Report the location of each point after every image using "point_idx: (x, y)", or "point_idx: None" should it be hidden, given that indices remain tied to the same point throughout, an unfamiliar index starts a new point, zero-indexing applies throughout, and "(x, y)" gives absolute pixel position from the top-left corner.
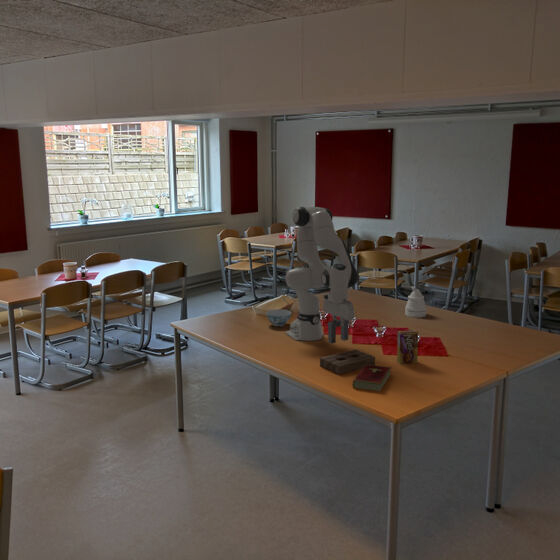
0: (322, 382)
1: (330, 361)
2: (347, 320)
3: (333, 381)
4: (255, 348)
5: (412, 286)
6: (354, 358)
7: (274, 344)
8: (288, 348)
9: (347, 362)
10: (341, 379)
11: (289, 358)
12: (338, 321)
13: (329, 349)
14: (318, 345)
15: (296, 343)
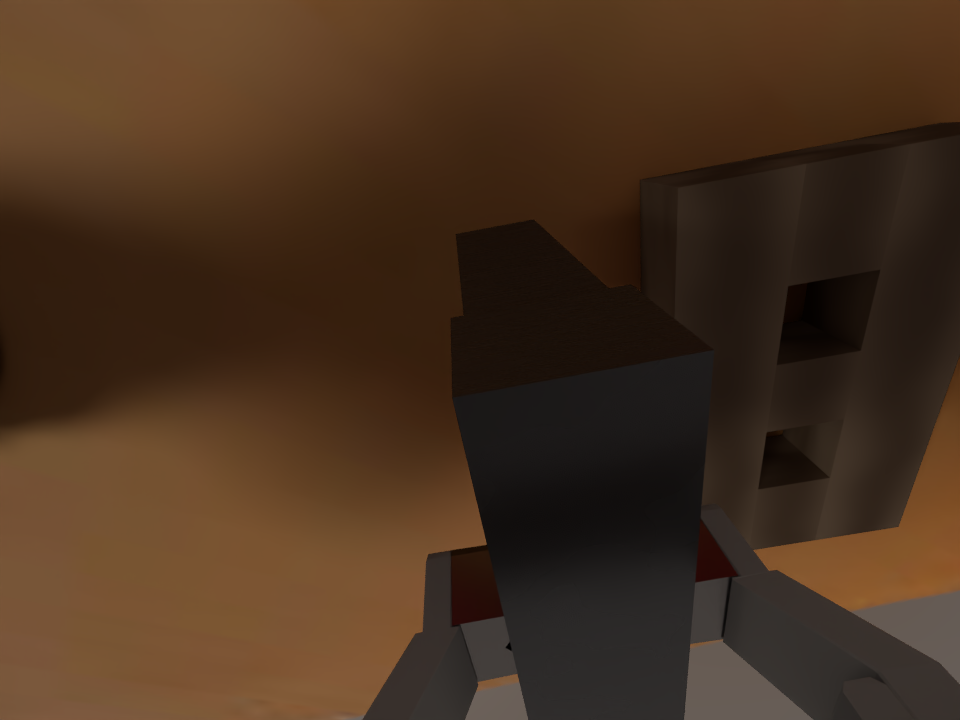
0: (857, 583)
1: (781, 535)
2: (694, 411)
3: (895, 540)
4: (165, 688)
5: None
6: (882, 354)
7: (87, 600)
8: (205, 557)
9: (899, 448)
10: (912, 497)
11: (420, 603)
12: (665, 672)
13: (317, 304)
14: (163, 343)
15: (73, 478)
